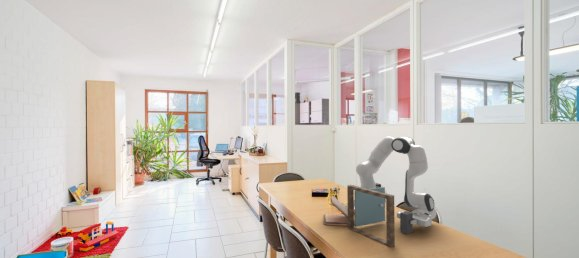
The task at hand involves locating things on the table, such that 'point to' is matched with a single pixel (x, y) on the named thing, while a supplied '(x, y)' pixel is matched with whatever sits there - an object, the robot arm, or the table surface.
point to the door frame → (389, 214)
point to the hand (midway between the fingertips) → (405, 221)
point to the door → (369, 207)
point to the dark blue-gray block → (406, 222)
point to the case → (337, 218)
